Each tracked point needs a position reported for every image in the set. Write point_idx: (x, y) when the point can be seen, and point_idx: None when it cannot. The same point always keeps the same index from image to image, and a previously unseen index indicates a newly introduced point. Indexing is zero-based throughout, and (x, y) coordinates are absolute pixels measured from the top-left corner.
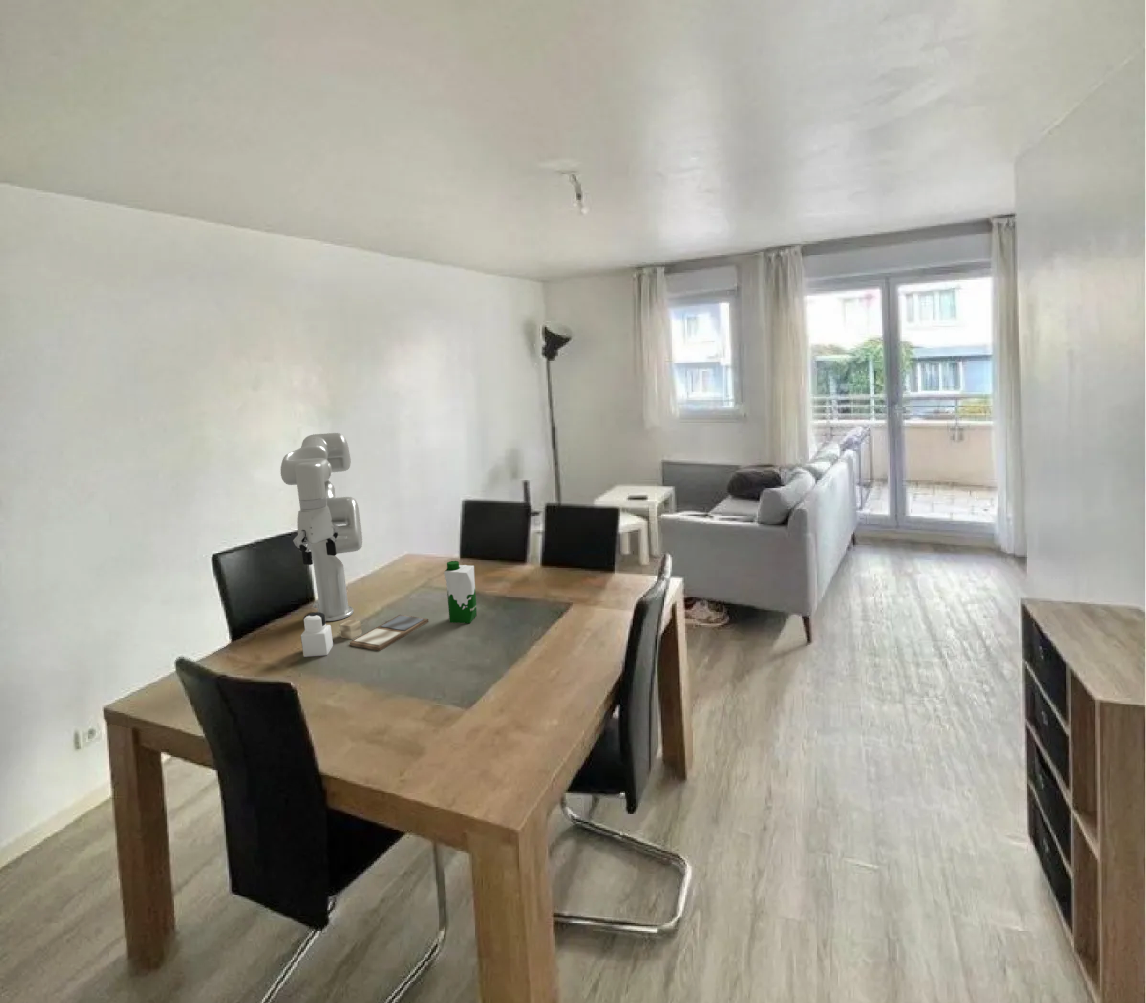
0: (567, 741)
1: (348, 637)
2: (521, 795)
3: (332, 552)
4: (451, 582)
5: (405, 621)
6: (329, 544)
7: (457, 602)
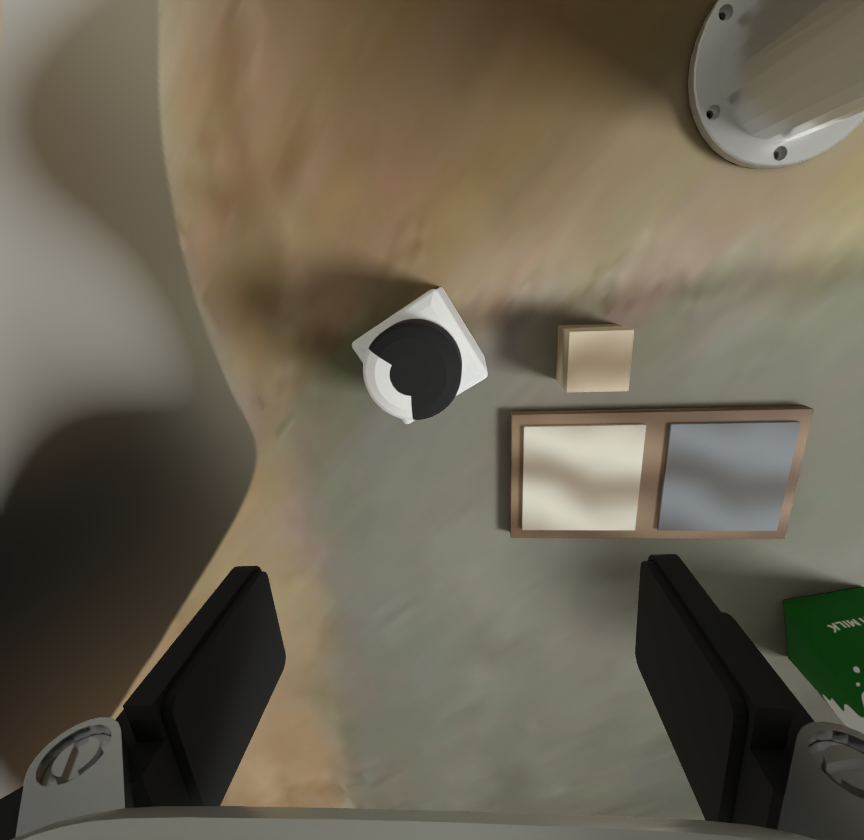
0: None
1: (557, 364)
2: None
3: (651, 668)
4: None
5: (738, 483)
6: (712, 755)
7: (836, 703)
